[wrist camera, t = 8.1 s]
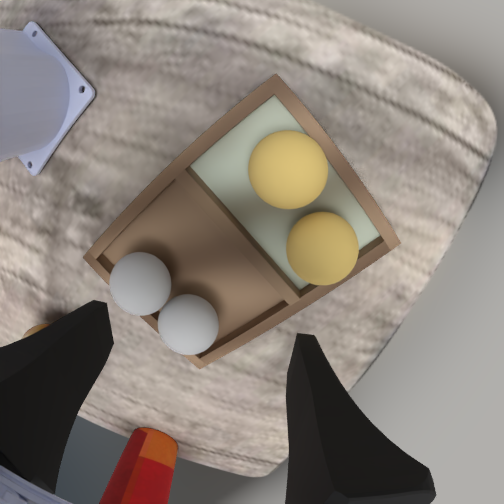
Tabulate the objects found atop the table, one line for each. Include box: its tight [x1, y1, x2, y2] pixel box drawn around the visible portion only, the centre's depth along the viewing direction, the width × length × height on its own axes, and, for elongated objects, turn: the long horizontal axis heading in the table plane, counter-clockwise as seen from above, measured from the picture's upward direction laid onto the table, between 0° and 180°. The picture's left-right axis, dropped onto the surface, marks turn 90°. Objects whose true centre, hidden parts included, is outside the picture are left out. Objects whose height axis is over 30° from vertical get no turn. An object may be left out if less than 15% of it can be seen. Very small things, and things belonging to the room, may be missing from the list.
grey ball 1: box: [109, 252, 171, 316], centre depth 20 cm, size 4×4×4 cm
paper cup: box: [99, 428, 178, 504], centre depth 26 cm, size 8×8×14 cm
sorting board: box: [83, 74, 401, 369], centre depth 20 cm, size 12×17×2 cm
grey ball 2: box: [158, 294, 219, 355], centre depth 21 cm, size 4×4×4 cm
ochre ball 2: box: [286, 212, 359, 285], centre depth 17 cm, size 4×4×4 cm
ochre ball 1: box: [248, 130, 328, 209], centre depth 16 cm, size 4×4×4 cm
